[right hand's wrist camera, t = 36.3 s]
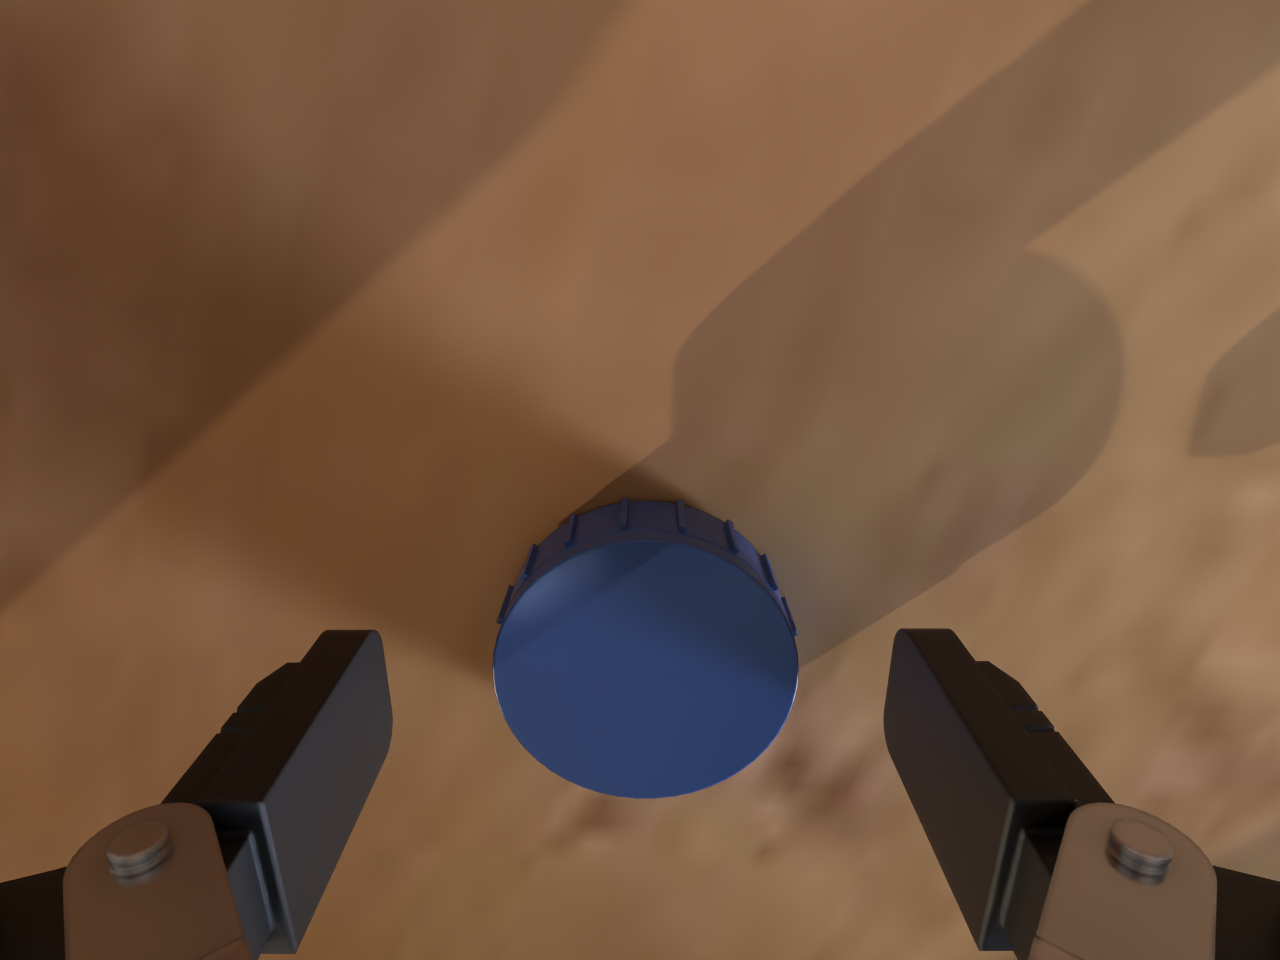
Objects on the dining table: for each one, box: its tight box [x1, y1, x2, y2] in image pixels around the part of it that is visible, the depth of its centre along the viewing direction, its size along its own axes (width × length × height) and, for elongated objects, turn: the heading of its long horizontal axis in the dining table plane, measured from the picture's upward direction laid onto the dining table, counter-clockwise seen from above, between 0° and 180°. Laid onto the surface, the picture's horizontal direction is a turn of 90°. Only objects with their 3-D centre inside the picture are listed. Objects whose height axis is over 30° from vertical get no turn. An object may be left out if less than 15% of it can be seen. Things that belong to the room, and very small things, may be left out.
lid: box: [492, 498, 799, 798], centre depth 12 cm, size 5×5×2 cm
